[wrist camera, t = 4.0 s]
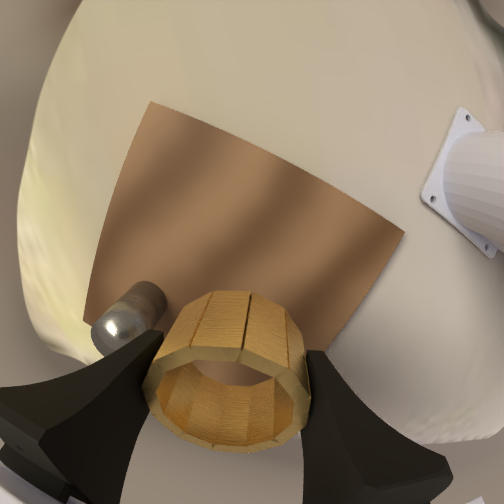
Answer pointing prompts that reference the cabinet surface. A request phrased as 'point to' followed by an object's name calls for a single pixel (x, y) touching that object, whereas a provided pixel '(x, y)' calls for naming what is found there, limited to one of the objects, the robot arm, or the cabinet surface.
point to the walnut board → (234, 233)
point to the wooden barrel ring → (227, 396)
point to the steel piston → (129, 317)
